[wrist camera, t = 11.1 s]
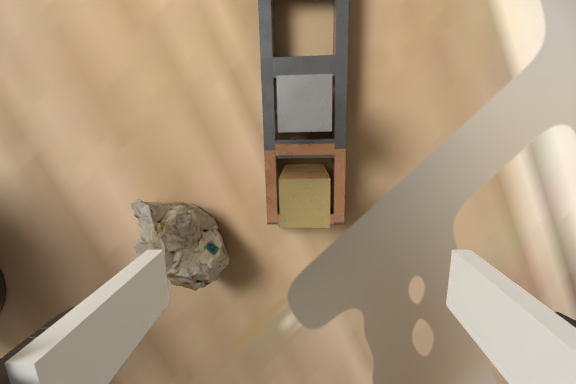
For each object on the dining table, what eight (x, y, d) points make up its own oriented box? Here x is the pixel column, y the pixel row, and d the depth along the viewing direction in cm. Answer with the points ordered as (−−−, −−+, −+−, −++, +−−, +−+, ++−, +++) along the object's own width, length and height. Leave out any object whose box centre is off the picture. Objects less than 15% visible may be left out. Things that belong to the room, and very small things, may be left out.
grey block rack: (269, 217, 36) (267, 224, 34) (260, -16, 31) (256, -29, 28) (341, 217, 36) (344, 224, 33) (346, -20, 30) (350, -34, 28)
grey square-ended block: (285, 130, 34) (277, 132, 24) (284, 90, 33) (276, 75, 23) (323, 129, 34) (331, 131, 24) (323, 89, 33) (332, 73, 23)
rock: (250, 262, 37) (201, 288, 27) (212, 282, 39) (155, 314, 29) (209, 179, 38) (150, 178, 29) (175, 203, 40) (109, 209, 31)
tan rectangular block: (286, 200, 36) (280, 227, 26) (285, 164, 35) (278, 179, 25) (322, 200, 36) (329, 227, 26) (323, 163, 35) (330, 178, 25)
